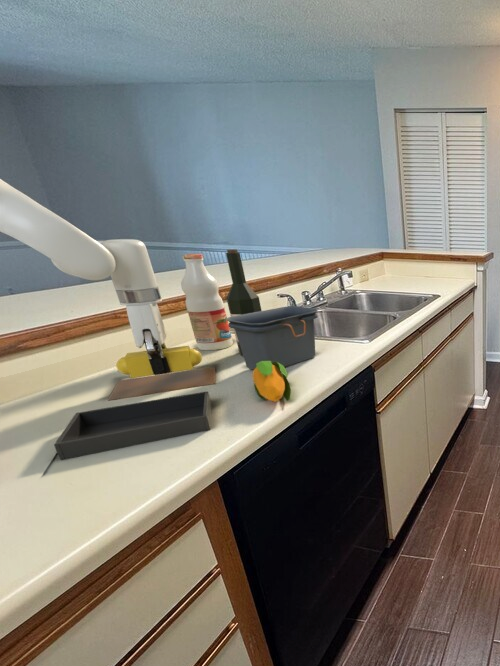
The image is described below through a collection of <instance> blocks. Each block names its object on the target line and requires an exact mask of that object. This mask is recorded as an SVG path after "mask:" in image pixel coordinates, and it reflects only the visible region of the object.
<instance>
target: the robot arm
mask: <svg viewBox="0 0 500 666" xmlns="http://www.w3.org/2000/svg"><path fill="white" fill-rule="evenodd" d="M0 233H2V234H4V235H7V236H10V237H11V238H13V239H15V240H17V241H19V242H20V243H23V244H25V246H28V247H30V248H32V249H34V250H35V251H37V252H39V253H40V254H42V255H44V256H46V257H47V258H49V259H50V261H51V263H52V264H53V266H54V267H56V268H57V269H58V270H59V271H61V272H63V273H65V274H67V275H70V276H72V277H76V278H81V279H85V280H88V281H89V280H90V281H101V280H104V279H107V278H109V277H110V278H111V281H112V284H113V287H114V291H115V293H116V296H117V299H118V301H119V305H121V306H124V307H125V309H126V314H127V318H128V319H127V320H128V322H129V326H130V329H131V333H132V337H133V339H134V340H133V341H134V343H135V347H136V348H138V349H142V347H143V346H145V349H146V350H145V351H147V354H148V357H149V362H150V365H151V368H152V371H153V374H154V375H161V374H168V373H170V368H169V365H168V362H167V358H166V357H164V354H163V350H162V349H165V348H167V345H166V339H167V333H166V332H167V331H166V329H165V324H164V321H163V318H162V314H161V312H160V311H161V310H160V308H159V305H158V303H161V302H162V301H163V298H162V295H161V292H160V289H159V285H158V281H157V279H156V278H157V277H156V275H155V272H154V269H153V265H152V261H151V259H150V256H149V255H150V254H149V252H148V249H147V247H146V245H145V243H144V242H143V241H141V240H140V239H135V238H134V239H132V238H121V239H119V238H118V239H107V240H96V239H94V238H93V237H91V236H89V235H88V234H87V233H86V232H84V231H82V230H81V229H79V228H78V227H76V226H75V225H73V224H72V223H70V222H69V221H68V220H66V219H64V218H63V217H61V216H59V215H58V214H57V213H55V212H54V211H51V210H50V209H48V208H47V207H45V206H44V205H42V204H40V203H38V202H37V201H36V200H34V199H32V198H31V197H30V196H28V195H27V194H25V193H23V192H22V191H20V190H19V189H17V188H15V187H14V186H12V185H10V183H7V182H6V181H4V180H3V179H1V178H0ZM158 349H159V350H158ZM154 375H153V376H154Z"/></svg>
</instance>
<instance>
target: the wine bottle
mask: <svg viewBox="0 0 500 666" xmlns="http://www.w3.org/2000/svg"><path fill="white" fill-rule="evenodd" d="M225 255H226V259H227V264H228V269H229V274H230V277H231V282H232V284H231V286H230V289H229V291H228V293H227V296H226V297H225V299H226V304H227V307H228V311H229V315H230V316H229V317H232V316H238V315H243V314H248V313H253V312H259V311H263V310H262V306H261V300H260V297H259V295H258V294H257V293H256V292H255V291H254V290H253V289H252V287H251V286H250V285H249V284H248V283H247V281H246V280H247V279H246V275H245V271H244V267H243V262H242V257H241V252H239V251H238V249H237V248H235V249H234V248H233V249H231V248H229V249H226V252H225ZM233 333H234V336H235V341H236V345H237V348H238V353H239V354H240V356H241V357H243V353H242V350H241V347H240V344H239V341H238V338H237V335H236V332H235V329H233Z"/></svg>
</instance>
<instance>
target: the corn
mask: <svg viewBox="0 0 500 666" xmlns="http://www.w3.org/2000/svg"><path fill="white" fill-rule="evenodd" d="M256 365H257V367H256V368H255V369H254V370H253V371H252V380H253V385H254V391H255V392H256V394H257V396H258V397H259V398H260V399H262V400H263V401H267V400H268V401H269V402H275V403H277V402H278V401H279V400H281V399H282V398H284V400H285V401H290V399H291V395H292V394H291V393H292V388H291V385H290V382H289V380H288V376H289V375H288V371H287V370H286V367H284V366H283V365H281V364H280V363H278V362H273V363H271V361H261V362H259V363H257V364H256Z"/></svg>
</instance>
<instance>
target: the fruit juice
mask: <svg viewBox="0 0 500 666" xmlns="http://www.w3.org/2000/svg"><path fill="white" fill-rule="evenodd" d="M203 255H204V254H202V253H186V254H182V255H181V257H182V261H183V262H184V264H185V272H184V276H183V277H182V279H181V281H180V287H181V290H182V292H183V293H184V295H185V307H186V311H187V314H188V317H189V321H190V326H191V329H192V333H193V335H194V340H195V343H196V346H197V348H198V349H199V350H201V351H216V350H223V349H227V348H230V347H232V346H233V344H234V342H233V337H232V333H231V328H230V327H229V321H227V320H226V318H228V316H227V313H226V308H225V304H224V300H223V298H222V297H221V296H220V293H219V289H220V286H219V282H218V281H217V279H216V278H215V277H214V276H213V275H212V274H210V272H209V271H208V270H207V268H206V266H205V264H204V256H203Z"/></svg>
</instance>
